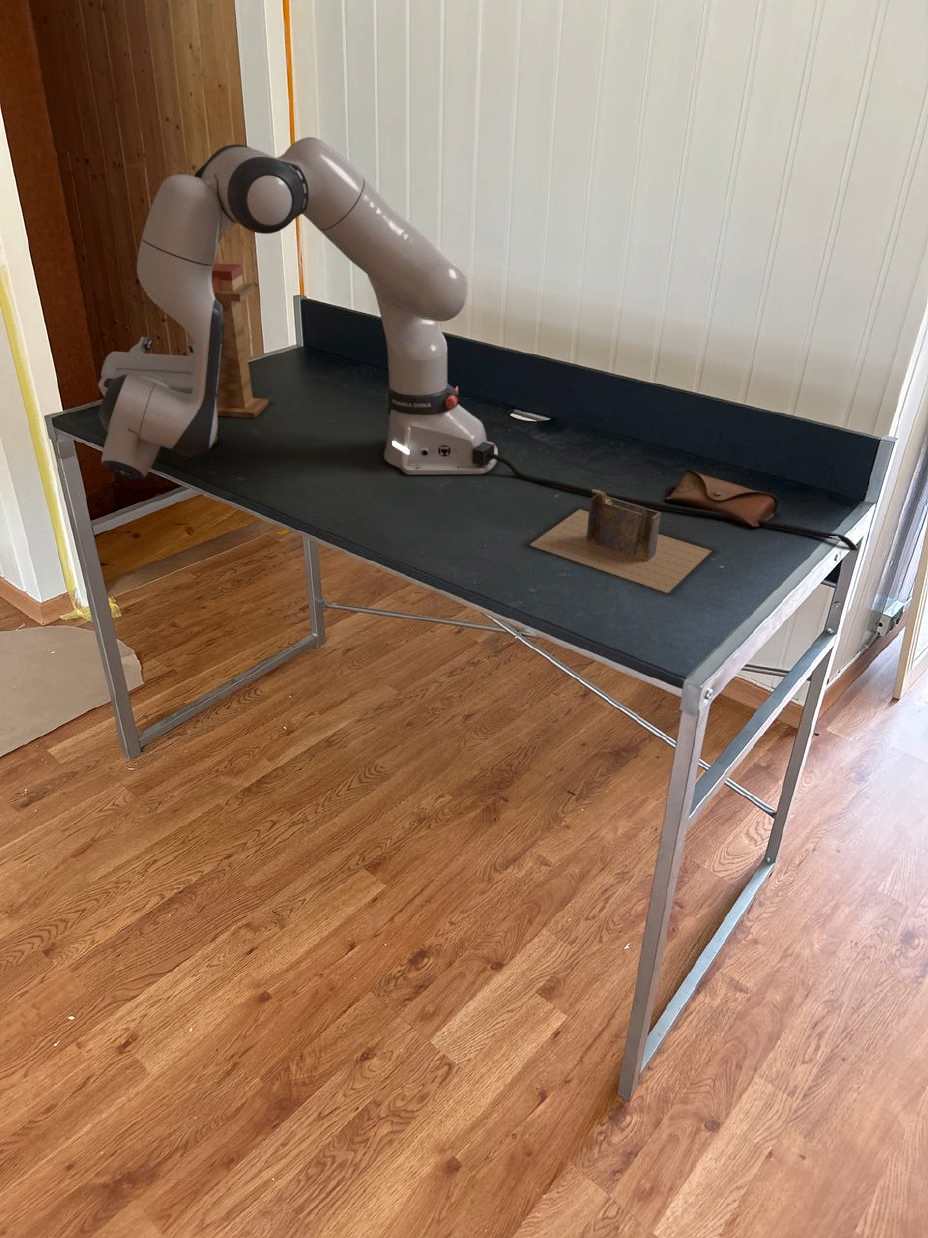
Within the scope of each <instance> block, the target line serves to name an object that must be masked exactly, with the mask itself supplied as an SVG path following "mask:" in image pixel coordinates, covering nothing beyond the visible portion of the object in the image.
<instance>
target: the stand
mask: <svg viewBox="0 0 928 1238" xmlns="http://www.w3.org/2000/svg"><path fill="white" fill-rule="evenodd" d="M255 292H256V284H255V283H252V282H251V283H250V282H249V283H248V282H243V284H242V285H241V286H239V287H238V288H236V289H235V290H233V291H231V290H220V291H219V292H217V293H216V294H214V296H215V299H217V300H218V302H219V303H220V304H221V305H222V308H223V314H224V328H223V343H222V355H221V366H220V376H219V387H218V399H217V416H218V417H219V416H220V417H230V418H231V417H233V418H247V419H248V418H249V419H256V418H257V417H258V416H259V415H260V414H261V413H262V412H263V411H264V410H265V409H266V408H267V407H268V406H269V399H268V398H258V397H253V389H252V382H251V375H250V368H249V367H250V366H249V360H248V359H249V358H248V351H247V343H246V335H245V327H244V319H243V311H242V304H241V302H242V301H243V300H245V299H246V298H248V297H249V296H251V295H252V294H254V293H255Z"/></svg>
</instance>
